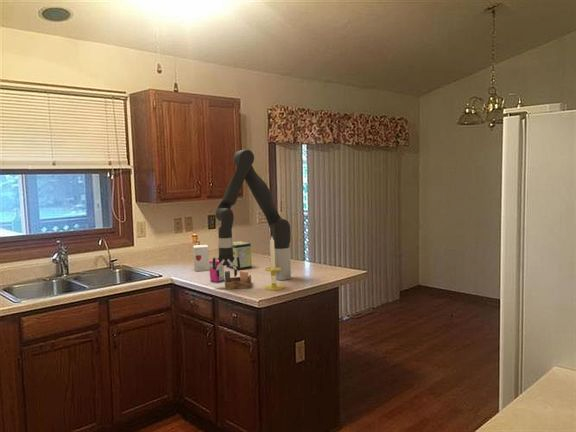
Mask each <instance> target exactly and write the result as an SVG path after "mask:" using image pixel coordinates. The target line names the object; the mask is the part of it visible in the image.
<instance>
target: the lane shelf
mask: <svg viewBox="0 0 576 432" xmlns="http://www.w3.org/2000/svg"><path fill="white" fill-rule="evenodd" d="M251 288H252V275H251V274H248V281H240V276H236V277H234V276H230V282H225V281H224V289H225V290H236V289H238V290H239V289H240V290H241V289H251Z"/></svg>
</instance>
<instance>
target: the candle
mask: <svg viewBox="0 0 576 432" xmlns="http://www.w3.org/2000/svg"><path fill="white" fill-rule="evenodd" d="M274 240H275V239H274V237H273V236H271V238H270V240H269V246H270V247H269V248H270V249H269V251H270V267H266V268H265V269H264V271H266V272H270V280H271V284H270V285H266V286H264V289H265V290H266V291H280V290H283V289H284V288H285V287H284V285H281V284H277V280H276V271H279V270H281V268H280V267H275V250H274Z"/></svg>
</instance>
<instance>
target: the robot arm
mask: <svg viewBox="0 0 576 432" xmlns="http://www.w3.org/2000/svg"><path fill="white" fill-rule="evenodd" d="M254 162H255V154H254V153H253V152H252V150H250V149H245V148H244V149H241V150H237V151H236V152H235V153H234V154H233V163H234V165H235V167H236V168H235V172H234V173H233V175H232V178H231V179H230V181H229V183H228V184H227V187H226V189H225V192H224V194H223V196H222V197H223V198H222V200H221V201H220V203H219V204H218V206H217V208H216V211H215V218H216V220H218V221H220V223H221V224H220V226H219V227H218V240H217V243H218V244H217V246H218V247H217V249H218V257H215V256H214V257H213V258H212V261H213V269H215V270H216V273H217V276H218V277H220V273H219V268H220V267H221V265H223V266H224V267H226V265H227V266H229V265H231V266H232V267H233V268H234V269H233V274H234V276H233V277H238V276H237V275H238V270H237V269H239V268H240V258H239V256H238V257H234V256H233V242H234V239H233V225H234V220H235V219H234V217H235V216H234V212H233V210H232V207H233V206H235V204H236V203H237V201H238V198H239V194H240V192H241V190H242V186H243V183H244V181H245V182H246V184H247V186H248V188H249V191H250V192H251V194H252V196H253V199H254V200H255V201H256V203H257V205H258V207H259V208H260V211H261V212H262V213H263V215H264V217H265V219H266V221H267V223H268V226H269V229H270V231H271V233H272V234H273V235H274V239H273V240H274V250H275V267H280V268H281V270H279V271H276V281H285V280H291V279H292V271H291V267H292V266H291V252H290V251H291V249H290V247H291V246H290V243H291V239H292V238H291V234H292V233H291V224H290V222H289V221H288V220H287V219H286V218H282V217H281V215H280V213H279V212H278V209H277V208H276V205H275V201H274V196H273V194H272V192H271V190H270V189H269V187H268V184H267V183H266V182H265V180H264V179H263V178H261V177H260V176H259V174H258V173H257V171H255V168H254V167H253V164H254ZM234 259H235V260H236V261H237V265H238V266H235V264H234V263H233V261H234ZM217 260H218V261H219V262H220V264H219V265H218V267H215V263H216V262H217Z"/></svg>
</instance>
